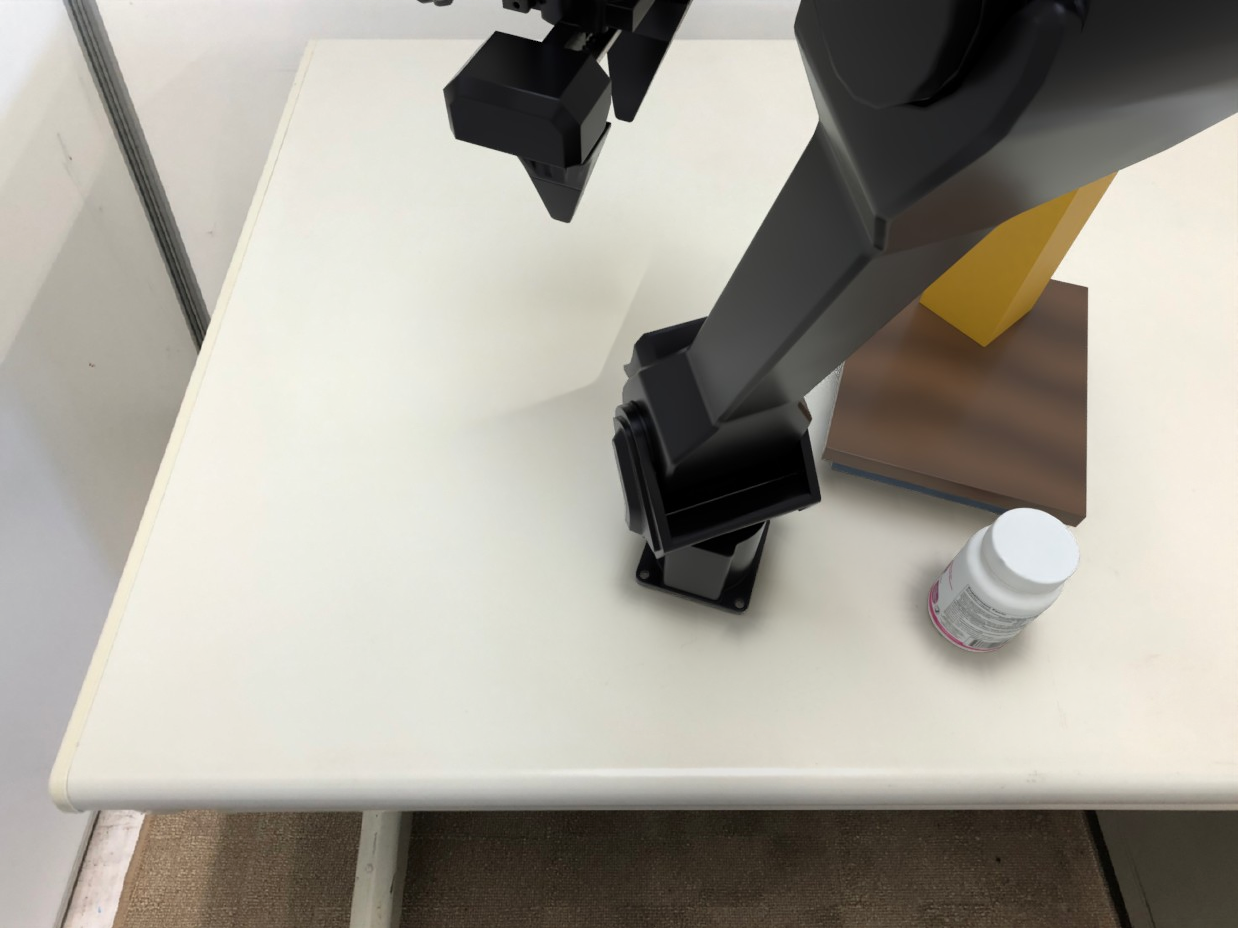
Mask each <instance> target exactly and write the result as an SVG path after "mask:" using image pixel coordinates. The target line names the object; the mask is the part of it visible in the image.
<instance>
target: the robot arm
mask: <svg viewBox="0 0 1238 928" xmlns="http://www.w3.org/2000/svg"><path fill="white" fill-rule="evenodd" d="M416 1H417V2H419V3H420V4H423V5H425V4H430V3H433V4H434V6H436V7H448V6H452V4H453V3H454V1H455V0H416ZM501 2H502V3H501V4H502V9H505V10H507V11H508V10H509V11H512V12H516V13H521V14H529V13H530V12H531V10H535V11H540V17H541V19H542V20H543V21H545V22H546V23H547V24H549V25H552V26H553V27H552V28H551V29H550V30H549V32H548V33H547V34H546V35H545V37H544V38H543V40H542V41H540V40H537V39H532V38H528V37H524V36H520V35H515V34H513V33H508V32H504V31H499V30H494V31H493V32H492V33H491V34H490V35H489V36H488V37H487V38H486V39H485V40H484V41H483V42H482V43H481V44H480V45H479V46H478V47H477V49H475V51H474V52H473V53H472V54H471V56H470V57H469V58H468V59H467V60H466V61H465V62H464V64H463V65H462V66H461V67H460V69H459V70H458V71H457V72H456V73H455V75H454V76H452V78H451V79H450V80H449V82H448V83H447V84H446V85H445V86H444V87H443V88H442V93H443V98H444V103H445V109H446V114H447V120H448V125H449V129H450V131H451V133H452V136H453V137H454V139H455V140H457V141H461V142H464V143H468V144H471V145H475V146H478V147H483V148H486V149H488V150H489V149H490V150H492V151H493V150H494V151H497V152H501V153H504V154H508V155H511V156H515V157H516V158H517V159H518V160H519V162H520V163H521V165H522V166H523V168H524V170H525V171H526V174H527V175H528V177H529V179H530V181H531V182H532V184H533V187H534V188H535V190H536V192H537V194H538V196H539V197H540V200H541V201H542V203H543V205H544V207H545V209H546V211H547V213H548V214H549V216H550V218H551V219H553V220H555V221H558V222H562V223H565V224H570V223H571V222H572V221H573V220H574V217H575V215H576V212H577V210H578V208H579V205H580V203H581V201H582V198H583V196H584V193H585V190H586V188H587V186H588V183H589V181H590V179H591V176H592V174H593V171H594V169H595V167H596V164H597V161H598V159H599V157H600V154H601V153H602V150H603V147H604V145H605V143H606V140H607V138H608V135H609V133H610V130H611V127H612V122H611V121H608V118H609V117H608V116H609V114H610V110H611V105H612V107H613V114H614V117H615V119H616V120H617V121H622V122H626V123H628V124H629V123H633V122H634V120H635V119H636V117H637V115H638V113H639V110H640V109H641V107H642V104H643V103H644V100H645V98H646V96H647V94H648V93H649V90H650V88H651V86H652V84H653V82H654V80H655V78H656V75H657V74H658V72H659V69H660V68H661V65H662V63H663V62H664V60H665V58H666V56H667V54H668V51H669V49H670V48H671V46H672V43H673V41H674V40H675V38H676V36H677V33H678V32H679V29H680V28H681V26H682V24H683V22H684V19H685V18H686V17H687V14H688V11H689V9H690V8H691V5H692V3H693V2H694V0H501ZM793 32H794V33H793V34H794V38H795V41H796V44H797V48H798V50H799V55H800V59H801V61H802V65H803V68H804V71H805V74H806V75H805V76H806V78H807V82H808V85H809V89H810V91H811V95H812V98H813V101H814V106H815V109H816V111H817V115H818V121H817V123H816V127H815V129H814V131H813V134H812V136H811V138H810V139H809V141H808V143H807V145H806V146H805V147H804V149H803V151H802V153H801V155H800V157H799V158H798V160H797V161H796V163H795V165H794V166H793V169H792V170H791V172H790V173H789V175H788V177H787V179H786V181H785V182H784V184H783V186H782V187H781V189H780V191H779V192H778V195H777V197H776V198H775V199H774V201H773V203H772V204H771V206H770V208H769V210H768V212H767V213H766V215H765V217H764V219H763V220H762V222H761V224H760V225H759V227H758V229H757V231H756V233H755V234H754V236H753V238H752V240H750V242H749V245H748V246H747V247H746V250H745V251H744V253H743V255H742V256H741V258H740V260H739V262H738V263H737V265H736V267H735V268H734V270H733V272H732V273H731V276H730V277H729V279H728V281H727V282H726V284H725V285H724V287H723V289H722V291H721V293H720V295H719V297H718V298H717V300H716V301H715V303H714V305H713V307H712V309H711V310H710V312H709V313H708V315H706V316H703V317H699V318H696V319H691V320H688V321H684V322H681V323H676V324H673V325H669V326H665V327H662V328H658V329H655V330H652V331H648V332H644V333H643V334H642V335H641V336H640V337H639V338H638V339H637V340H636V341H635V343H634V344H633V349H632V353H631V358H630V359H631V360H630V361H629V363H626V364H623V372H624V373H625V375H626V377H627V380H626V381H625V383H624V385H623V387H622V392H621V393H622V394H621V396H622V397H621V399H622V400H621V403H622V404H619V405H616V407H615V410H614V417H612V423H613V431H614V435H613V437H612V439H611V445H612V449H613V454H614V460H615V463H616V468H617V472H618V476H619V482H620V486H621V491H622V496H623V499H624V509H625V510H624V513H625V514H624V521H625V524H626V526H627V528H628V531H631V532H632V533H635V534H638V535H640V536H642V538H643V539H646V541H645V543H644V547H643V549H642V553H641V556H640V559H639V561H638V563H637V567H636V570H635V575H634V576H635V577H634V578H635V581H636V582H637V584H639V585H640V586H643V587H647V588H650V589H653V590H656V591H659V592H662V593H666V594H670V595H673V596H675V597H679V598H683V599H686V600H689V601H692V602H696V603H699V604H702V605H705V606H709V607H712V608H714V609H718V610H722V611H725V612H728V613H731V614H735V615H744V614H745V613H747V610H748V609H749V606H750V602H751V598H752V594H753V590H754V586H755V583H756V578H757V574H758V571H759V567H760V563H761V559H762V555H763V552H764V547H765V543H766V540H767V535H768V532H769V527H770V524H771V520H773V519H775V518H779V517H782V516H785V515H787V514H791V513H794V512H797V511H798V512H802V511H806V510H808V509H811V508H812V507H814V506H816V505H818V504H820V503H821V502H822V493H821V488H820V483H819V482H820V481H819V477H818V473H817V467H816V462H815V458H814V452H813V448H812V442H811V437H810V431H809V427H810V425H811V423H812V421H813V417H812V414H811V411H810V409H809V406H808V404H807V401H806V398H805V397H806V395H808V394H809V393H810V392H811V391H812V390H814V389H815V388H816V387H817V386H818V385H819V384H820V383H821V382H823V380H824V381H825V379H826V378H827V377H828V376H829V375H830V374H831V373H833V372H834V371H835V370H836V369H837V368H838V367H840V366H842V364H843V362H844V361H845V360H846V359H847V358H848V357H850V356H851V355H852V354H853V353H854V352H855V351H856V350H858V349H859V348H860V347H861V346H862V345H863V344H864V343H866V342H867V341H868V340H869V339H870V338H871V337H872V336H873V335H875V334H876V333H877V332H878V331H879V330H880V329H881V328H883V327H884V326H885V325H886V324H887V323H888V322H889V321H891V320H892V319H893V318H894V317H895V316H896V315H897V314H898V313H900V312H901V311H902V310H903V309H904V308H905V307H906V306H908V305H909V304H910V303H911V302H912V301H913V300H914V299H916V298H917V297H918V296H919V295H920V294H921V293H922V292H923V291H925V290H926V289H927V288H928V287H929V286H930V285H931V284H933V283H934V282H935V281H936V280H937V279H938V278H939V277H940V276H942V275H943V274H944V273H945V272H946V271H947V270H948V269H950V268H951V267H952V266H953V265H954V264H955V263H956V262H958V261H959V260H960V259H961V258H962V257H963V256H964V255H965V254H967V253H968V252H969V251H970V250H971V249H972V248H973V247H975V246H976V245H977V244H978V243H979V242H980V241H981V240H983V239H984V238H985V237H986V236H987V235H988V234H989V233H990V232H992V231H993V230H994V229H995V228H996V227H997V226H999V225H1000V224H1002V223H1003V222H1005V221H1007V220H1009V219H1011V218H1012V217H1015V216H1017V215H1019V214H1021V213H1023V212H1025V211H1028V210H1030V209H1032V208H1034V207H1037V206H1039V205H1041V204H1044V203H1046V202H1048V201H1050V200H1053V199H1055V198H1057V197H1060V196H1062V195H1064V194H1067V193H1069V192H1071V191H1073V190H1076V189H1078V188H1080V187H1083V186H1085V185H1087V184H1090V183H1092V182H1094V181H1096V180H1099V179H1101V178H1103V177H1106V176H1108V175H1110V174H1113V173H1115V172H1117V171H1118V172H1120V171H1121V170H1124V169H1126V168H1128V167H1130V166H1133V165H1136V164H1138V163H1140V162H1142V161H1145V160H1147V159H1150V158H1151V157H1154V156H1156V155H1159V154H1161V153H1163V152H1165V151H1167V150H1169V149H1171V148H1173V147H1176V146H1177V145H1179V144H1181V143H1182V142H1185V141H1186V140H1188V139H1190V138H1192V137H1194V136H1196V135H1198V134H1200V133H1202V132H1204V131H1205V130H1207V129H1209V128H1211V127H1213V126H1215V125H1216V124H1218V123H1220V122H1223V121H1225V120H1226V119H1228V118H1231V117H1232V116H1234V115H1235V114H1238V0H800V2H799V6H798V9H797V11H796V15H795V19H794V24H793ZM605 56H606V59H607V69H608V73H607V72H606V71H605V70H604V68H603V66H602V65H601V64H600V63H601V61H602V60H603V59H604V57H605ZM642 574H646V575H647V577H642V576H641V575H642ZM736 603H741V604H742V606H741V607H738V606H737V605H736Z"/></svg>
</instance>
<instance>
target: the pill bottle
mask: <svg viewBox="0 0 1238 928" xmlns="http://www.w3.org/2000/svg"><path fill="white" fill-rule="evenodd" d="M1080 557H1081V556H1080V547H1079V544H1078V542H1077V540H1076V537H1075V536H1074V535H1073V533H1072V531H1071V530H1070V529H1069V528H1068V527H1067V525H1065V524H1063V523H1062V522H1061V521H1059V520H1058V519H1057V518H1055V517H1053V516H1051V515H1050V514H1048V513H1046V512H1043V511H1041V510H1037V509H1032V508H1017V509H1013V510H1010V511H1007V512H1005V513H1003V514H1002V515H1001V514H1000V515H999V516H998V517H997V518H996V519H995V521H993V523H991V524H990V525H986V526H984V527H983V528H981V529H978V531H976V532H975V533H974V534H973V535H972V536H971V537H970V538H969V539H968V540H967V541H966V543H965V544H964V545H963V547H961V549H960V550H959V551H958V553H957V554H956V555H955V557H954V558H953V559H952V560H951V562H950V563H949V564H948V565H947V567H946V568H945V569H944V570H943V571H942V573H941V574H940V576H938V577H937V579H936V580H935V581H934V582H933V584H932V586H931V588H930V590H929V593H928V596H927V611H928V614H929V617H930V620H931V622H932V623H933V624H932V625H934V627H935V628H936V630H937V631H938V633H940V634H941V636H943V637H944V638H945V639H946V640H947V641H949V642H950V643H951V644H952V645H954V646H956V647H958V648H960V649H962V650H965V651H968V652H972V653H988V652H993V651H995V650H999V649H1000V648H1002V647H1003V646H1005V645H1006V644H1008V643H1009V642H1010V641H1011V640H1012V639H1013V638H1014V637H1016V636H1018V634H1019V633H1020V632H1021V631H1023V630H1024V629H1025V628H1026V627H1027V626H1029V625H1030V624H1031V623H1032V622H1034V620H1036V619H1037V618H1038V617H1039V616H1041V615H1042V614H1043V613H1044V612H1045V611H1047V610H1048V609H1049V608H1050V607H1051V606H1052V605H1053V604H1054V603H1055V602H1056V601H1057V600H1058V599H1059V598H1060V596H1061V595H1062V592H1063V590H1064V588H1065V582H1067V580H1069V578H1071V577H1072V575H1074V574H1075V572H1076V570H1077V568H1078V566H1079V563H1080Z"/></svg>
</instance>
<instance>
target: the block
mask: <svg viewBox="0 0 1238 928" xmlns="http://www.w3.org/2000/svg"><path fill="white" fill-rule="evenodd" d="M1118 173H1119V171H1117V172H1115V173H1113V174H1110V175H1108V176H1106V177H1103V178H1101V179H1099V180H1096V181H1094V182H1092V183H1090V184H1087V185H1085V186H1083V187H1080V188H1078V189H1076V190H1073V191H1071V192H1069V193H1067V194H1064V195H1062V196H1060V197H1057V198H1055V199H1053V200H1050V201H1048V202H1046V203H1044V204H1041V205H1039V206H1037V207H1034V208H1032V209H1030V210H1028V211H1025V212H1023V213H1021V214H1019V215H1017V216H1015V217H1012V218H1011V219H1009V220H1007V221H1005V222H1003V223H1002V224H1000V225H999V226H997V227H996V228H995V229H994V230H993V231H992V232H990V233H989V234H988V235H987V236H986V237H985V238H984V239H983V240H981V241H980V242H979V243H978V244H977V245H976V246H975V247H973V248H972V249H971V250H970V251H969V252H968V253H967V254H965V255H964V256H963V257H962V258H961V259H960V260H959V261H958V262H956V263H955V264H954V265H953V266H952V267H951V268H950V269H948V270H947V271H946V272H945V273H944V274H943V275H942V276H940V277H939V278H938V279H937V280H936V281H935V282H934V283H933V284H931V285H930V286H929V287H928V288H927V289H926V290H925V291H924V292H923V295H922V297H921V299H920V301H919V302H920V303H921V304H923V305H924V306H926V307H927V308H928V309H930V310H931V311H933V312H934V313H936V314H937V315H938V316H940V317H941V318H943V319H944V320H946V321H947V322H948V323H950V324H951V325H953V326H954V327H956V328H957V329H959V330H960V331H961V332H963V333H964V334H966V335H967V336H969V337H970V338H971V339H973V340H974V341H976V342H977V343H979V344H980V345H981V346H983V347H986V346H987V345H988V344H989V343H991V342H992V341H993V340H994V339H995V338H997V337H998V336H999V335H1000V334H1002V333H1003V332H1004V331H1005V330H1006V329H1008V328H1009V327H1010V326H1011V325H1013V324H1014V323H1015V322H1016V321H1017V320H1019V319H1020V318H1021V317H1022V316H1024V315H1025V314H1026V313H1027V312H1029V311H1030V310H1031V309H1032V307H1033V306H1034V304H1035V303H1036V301H1037V299H1038V298H1039V296H1040V295H1041V293H1042V291H1043V290H1044V288H1045V287H1046V285H1047V284H1048V282H1049V280H1050V279H1052V277H1053V276H1054V274H1055V273H1056V271H1057V270H1058V268H1059V267H1060V265H1061V263H1062V262H1063V260H1064V259H1065V256H1066V255H1067V253H1068V252H1069V251H1070V249H1071V247H1072V245H1073V244H1074V242H1075V241H1076V239H1077V238H1078V236H1079V234H1080V233H1081V232H1082V230H1083V228H1084V227H1085V225H1086V224H1087V222H1088V221H1089V219H1090V218H1091V216H1092V214H1093V212H1094V211H1095V209H1096V208H1097V206H1098V205H1099V203H1100V201H1101V200H1102V198H1103V197H1104V195H1105V193H1107V190H1108V189H1109V187H1110V186H1111V184H1112V183H1113V181H1114V179H1115V178H1116V176H1117V175H1118Z"/></svg>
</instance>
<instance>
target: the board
mask: <svg viewBox="0 0 1238 928" xmlns="http://www.w3.org/2000/svg"><path fill="white" fill-rule="evenodd" d="M923 292H924V291H923ZM923 292H922V293H921V294H920V295H919V296H918V297H917V298H916V299H914V300H913V301H912V302H911V303H910V304H909V305H908V306H906V307H905V308H904V309H903V310H902V311H901V312H900V313H898V314H897V315H896V316H895V317H894V318H893V319H892V320H891V321H889V322H888V323H887V324H886V325H885V326H884V327H883V328H881V329H880V330H879V331H878V332H877V333H876V334H875V335H873V336H872V337H871V338H870V339H869V340H868V341H867V342H866V343H864V344H863V345H862V346H861V347H860V348H859V349H858V350H856V351H855V352H854V353H853V354H852V355H851V356H850V357H848V358H847V359H846V360H845V361H844V362H843V363H842V364H841V369H840V373H839V378H838V381H837V386H836V391H835V396H834V400H833V404H832V409H831V413H830V417H829V422H828V425H827V431H826V435H825V439H824V443H823V448H822V451H821V457H820V459H821V460H823V461H826V462H827V461H828V462H830V469H831V470H835V471H837V472H842V473H845V474H850V475H853V476H857V477H861V478H864V479H867V480H871V481H875V482H879V483H882V484H886V485H891V486H894V487H898V488H901V489H905V490H909V491H912V492H916V493H919V494H922V495H927V496H931V497H934V498H937V499H938V498H939V499H941V500H946V501H949V502H953V503H957V504H960V505H964V506H968V507H970V508H971V507H972V508H975V509H979V510H983V511H986V512H991V513H994V514H998V515H1000V516H1001V515H1002V514H1003V513H1005V512H1007V511H1010V510H1013V509H1017V508H1032V509H1037V510H1041V511H1043V512H1046V513H1048V514H1050V515H1051V516H1053V517H1055V518H1057V519H1058V520H1059V521H1061V522H1062V523H1063V524H1064V525H1065V526H1068V527H1072V528H1077V527H1078V526H1079V525H1080V524H1081V523H1082V522H1083V521H1084V520H1085V519H1086V518H1087V500H1088V498H1087V497H1088V494H1087V492H1088V491H1087V487H1088V486H1087V485H1088V483H1087V482H1088V480H1087V479H1088V379H1089V377H1088V375H1089V373H1088V372H1089V371H1088V369H1089V366H1088V361H1089V357H1088V356H1089V287H1088V286H1085V285H1080V284H1076V283H1071V282H1066V281H1062V280H1058V279H1052V278H1051V279H1050V280H1049V282H1048V284H1047V285H1046V287H1045V288H1044V290H1043V291H1042V293H1041V295H1040V296H1039V298H1038V299H1037V301H1036V303H1035V304H1034V306H1033V307H1032V309H1031V310H1030V311H1029V312H1027V313H1026V314H1025V315H1024V316H1022V317H1021V318H1020V319H1019V320H1017V321H1016V322H1015V323H1014V324H1013V325H1011V326H1010V327H1009V328H1008V329H1006V330H1005V331H1004V332H1003V333H1002V334H1000V335H999V336H998V337H997V338H995V339H994V340H993V341H992V342H991V343H989V344H988V345H987V346H986V347H983V346H981V345H980V344H979V343H977V342H976V341H974V340H973V339H971V338H970V337H969V336H967V335H966V334H964V333H963V332H961V331H960V330H959V329H957V328H956V327H954V326H953V325H951V324H950V323H948V322H947V321H946V320H944V319H943V318H941V317H940V316H938V315H937V314H936V313H934V312H933V311H931V310H930V309H928V308H927V307H926V306H924V305H923V304H921V303H920V302H919V301H920V299H921V297H922V295H923Z"/></svg>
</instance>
